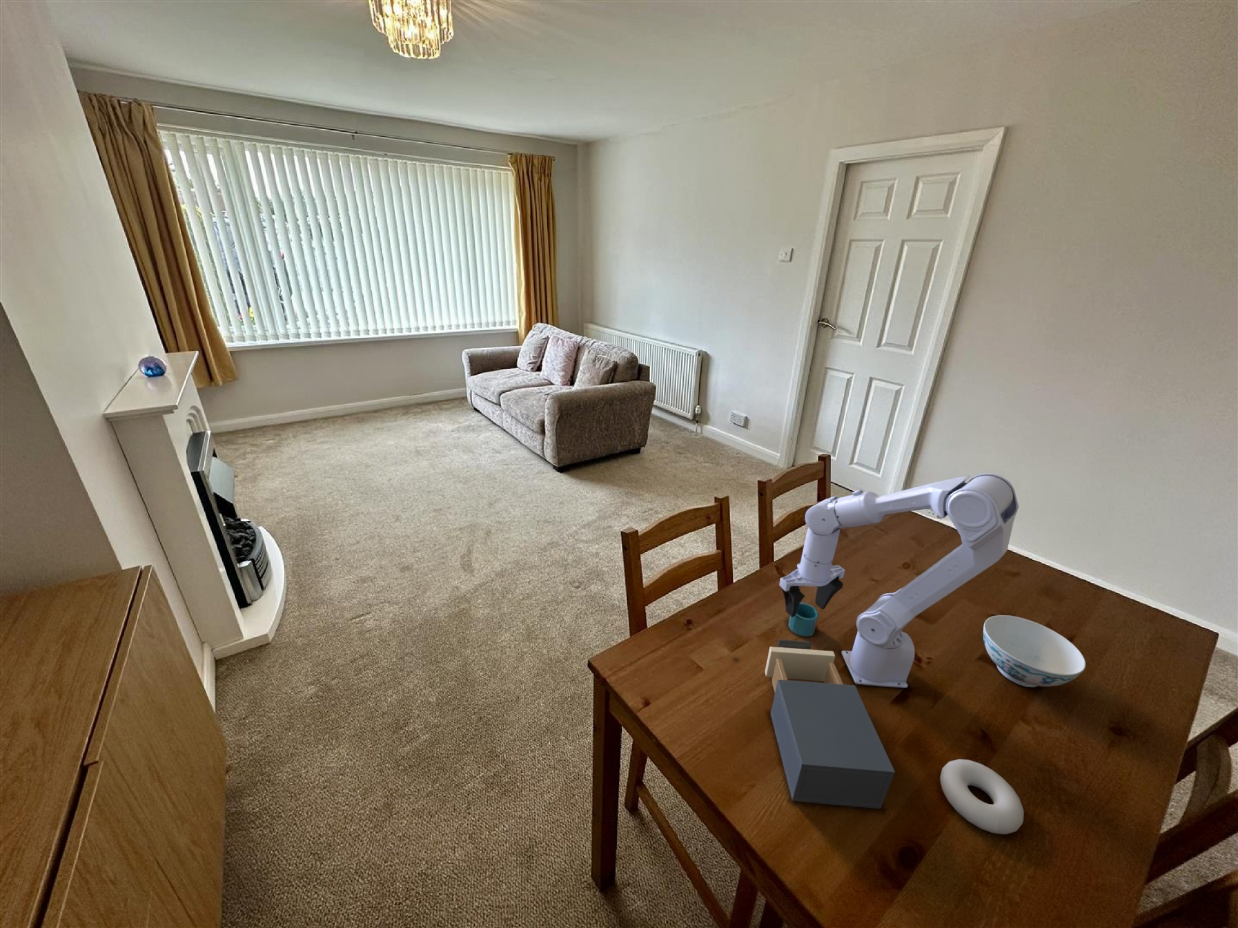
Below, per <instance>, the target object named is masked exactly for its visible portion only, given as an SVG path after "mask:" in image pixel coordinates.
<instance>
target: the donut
mask: <svg viewBox="0 0 1238 928" xmlns="http://www.w3.org/2000/svg"><path fill="white" fill-rule="evenodd" d="M939 781H940V785H941V790H942V792H943V794H944V796H945V798H946V800H947V802H948V803H949V804H950V805H951V806H952V807H953V809H954V810H955V811H956V812H957V813H958V814H959V815H960V816H961V817H963V818H964V819H965V820H966V821H967V822H969V823H971V824H972V825H974V826H976V827H977V828H979V829H980V830H982V831H983V830H984V831H985V832H989V833H992V834H998V835H1008V834H1012V833H1014V832H1017V831H1018V830H1019V829H1020V827H1021V826H1022V825H1023V823H1024V817H1025V816H1024V814H1025V811H1024V808H1023V805H1022V802H1021V799H1020V797H1019V796H1018V794H1017V793H1016V791H1015V789H1014V788H1013V787H1012V786H1011V785H1010V784H1009V783H1008V782H1007V781H1006V780H1005V779H1004V778H1003V776H1001V775H999V774H998V773H997V772H996V771H995V770H993V769H991V768H989V767H988V766H985V765H984V764H983V763H980V762H976V761H973V760H970V759H963V758H962V759H961V758H958V759H955V760H950V761H948V762H947V763H946V764H945V765H944V766H943V767H942V769H941V772H940V777H939ZM968 786H973V787H975V788H977V789H980V790H981V791H982V792H984V793H985V794H986V795H987V796H988V797H989V798H990V799H991V801H992V804H989V803H987V802H984V801H983V800H981V799H979V798H977V797H976V796H975V795H974V794H973V793H972V792H971V790H970V789H969V787H968Z"/></svg>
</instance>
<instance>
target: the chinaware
mask: <svg viewBox="0 0 1238 928" xmlns="http://www.w3.org/2000/svg"><path fill="white" fill-rule="evenodd" d="M982 638H983V639H982V640H983V644H984V647H985V649H986V652H987V654H988V655H989V657H990V659H991V660H992V662H993V663H994V664H995V665H996V668H997V669H998V671H999V672H1000V673H1001V674H1002V675H1003V676H1004V677H1005V678H1007V679H1008V680H1009V681H1011V682H1012V683H1015V684H1017V685H1020V686H1023V687H1028V688H1036V687H1056V686H1062V685H1064V684H1067V683H1069V682H1071V681H1073V680H1075V679H1076V678H1077V677H1078V676H1080V675H1081V674H1082V673H1083V672H1084V671H1085V669H1086V666H1087V665H1086V663H1087V662H1086V659H1085V657H1084V655H1083V654H1082V653H1081V651H1080V649H1078V648H1077V647H1076V646H1075V645H1074V644H1073V643H1072V642H1071V641H1070V640H1068V639H1067V638H1066V637H1065V636H1063V635H1061V634H1059V633H1058V632H1056V631H1055V630H1053V629H1051V628H1049V627H1047V626H1045V625H1043V624H1040V623H1038V622H1036V621H1032V620H1030V619H1027V618H1024V617H1019V616H1016V615H1015V616H1014V615H1008V614H1007V615H1005V614H1003V615H1002V614H999V615H993V616H990V617H988V618H987V619H986V620H985V621H984V624H983V630H982Z"/></svg>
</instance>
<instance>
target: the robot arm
mask: <svg viewBox="0 0 1238 928" xmlns="http://www.w3.org/2000/svg"><path fill="white" fill-rule="evenodd" d="M969 478H970V475H968V476H958V477H953V478H949V479H943V480H940V481H934V482H931V483H928V484H924V485H918V486H916V487H911V488H907V489H904V490H899V491H896V492H892V493H891V492H890V493H888V494H883V495H879V494H877V493H875V492H874V491H870V490H869V491H864V490H863V489H862V488H861V489H857V490H854V491H853V492H851V494H849V495H846V496H841V497H838V496H837V495H835V496H831V497H829V498H825V499H824V500H822V501H820V502H818V503H816V504H814V505H813V506H811V507H809V508H808V509H807V510H806V512H805V513H804V522H805V524H806V527H807V530H806V535H805V541H804V544H803V548H802V553H801V558H800V562H798V563H797V565H796V567H797V568H796V569H795V570H793V571H792V572H790V573H788V574H787V575H786V576H783V577H781V578H780V580H779V583H778V584H779V587H780V588H781V591H782V594H783V599H784V603H785V612H786V613H787V614H788V615H789V617H790V616H791V617H795V615H796V613H797V610H798V606H799V604H800V603H802V601H803V599H804V598H805V597H806V596H805V594H804V593H803V592H801V588H800V587H816V593H815V598H814V599H815V605H816V606H817V607H818V608H819V609H820V610H825V609H826V607H827V606H828V604H829V602H830V601H831V600H832V598H833V597H834V596H835V594H837V593H838V592H839V591H840V590H841V589H843V588H844V583H843V582H842V581H841V580H840V579H843V578H844V577H845V572H846V570H845V569H844V568H843V567H841V566H840V564H837V565H833V563H834V557H835V553H836V550H837V546H838V541H839V537H840V532H841V529H851V528H857V527H863V526H868V525H874V524H879V523H880V522H882V521H883V519H884V517H885V515H893V514H899V513H900V514H901V513H905V512H913V511H921V510H930V511H931V512H933V513H935V514H936V515H937V516H938V517H940V518H942V519H945V518H946V517H947V516H948V517H949V520H950V521H951V523H952V524H953V526H954V527H955V529H956V531H957V532H958V534H959V535H960V541H961V544H960V545H958V546H957V547H955V549H952V550H951V552H949V553H947V555H945V556H944V557H943V558H941V559H940V560H938V561H937V562H936V563H934V564H933V565H932V566H930V567H929V568H927V569H926V570H925V571H924V572H922V573H921V574H919V575H918V576H917V577H916V578H914V579H913V580H911V581H910V582H909V583H907V584H906V585H905V586H903V587H901V588H899V589H898V590H896V591H895V592H889V593H883V594H882V595H880V596H879V597H878V598H877V600H876V601H875V602H874V603H872V605H871V606H869V607H867V608H866V610H865V611H863V612H862V613H860V614H859V615H858V616H857V618H856V622H855V625H856V629H857V633H856V636H855V640H854V643H853V646H852V648H851V649H852V650H842V651H840V652H841V655H842V658H843V660H844V662H845V664H846V666H847V669H848V671H849V673H850V675H851V677H852V679H853V682H854V683H855V684H856V685H860V686H861V685H862V686H873V687H874V686H876V687H887V688H902V689H907V688H908V686H909V685H908V683H907V681H908V677H909V675H910V672H911V670H912V666H913V663H914V660H915V655H916V654H915V653H916V652H915V644H914V642H913V640H912V638H911V636H910V635H909V633H906V632H905V631H903V630H904V628H905V627H906V626H908V625H909V624H910V623H911V622H912V621H913V619H914V618H916V617H917V616H918V615H919V614H921V613H923V612H924V611H926V610H928V609H929V608H930V607H932V606H934V605H935V604H936V603H938V602H939V601H941V600H942V599H944V598H945V597H947V596H948V595H950V594H951V593H953V592H954V591H956V590H957V589H958V588H961V587H962V586H963V585H964V584H966V583H967V582H969V581H971V580H973V578H975V577H976V576H978V575H980V574H982V572H984V571H986V570H987V569H988V568H991V566H993V565H994V564H996V563H998V562H999V561H1000V559H1002V557H1003V556H1005V554H1006V553H1007V552H1008V549H1009V544H1010V539H1011V535H1012V531H1013V527H1014V522H1015V519H1016V516H1017V513H1018V511H1019V507H1020V506H1019V501H1018V498H1017V493H1016V490H1015V488H1014V486H1013V484H1012V483H1011V482H1010V481H1009V480H1008V479H1007V478H1005V477H1004V476H1001V475H999V474H996V473H980V474H977V475H975V476H973V477H971V479H970V480H969V481H967V480H968V479H969ZM966 481H967V482H966Z"/></svg>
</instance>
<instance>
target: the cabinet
mask: <svg viewBox="0 0 1238 928" xmlns="http://www.w3.org/2000/svg"><path fill="white" fill-rule="evenodd" d="M791 680H792V679H788V680H778V681H777V686H776V691H775V692H774V696H773V701H772V704H771V710H770V717H771V721H772V726H773V728H774V733H775V738H776V742H777V746H778V749H779V754H780V757H781V761H782V762H781V763H782V765H783V771H784V775H785V778H786V782H787V786H788V790H789V794H790V798H791V801H792V802H798V803H799V802H801V803H811V804H823V805H833V806H845V807H854V808H855V807H856V808H865V809H875V810H876V809H878V810H881V809H882V806H883V804H884V801H885V799H886V796H887V794H888V792H889V789H890V786H891V784H892V781H893V779H894V776H895V773H896V771H895V769H894V767H893V764H892V762H891V761H890V758H889V756H888V754H887V752H886V749H885V747H884V745H883V742H882V741H881V739H880V737H879V734H878V733H877V730H876V728H875V725H874V723H873V722H872V719H871V717H870V715H869V713H868V710H867V708H866V706H865V704H864V702H863V699H862V697H861V695H860V693H859V691H858V689H857V687H856V685H855V684H854V685H853V684H844V683H843V684H830V683H824V682H819V683H817V682H818V681H806V682H804V681H805V680H793V681H791Z"/></svg>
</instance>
